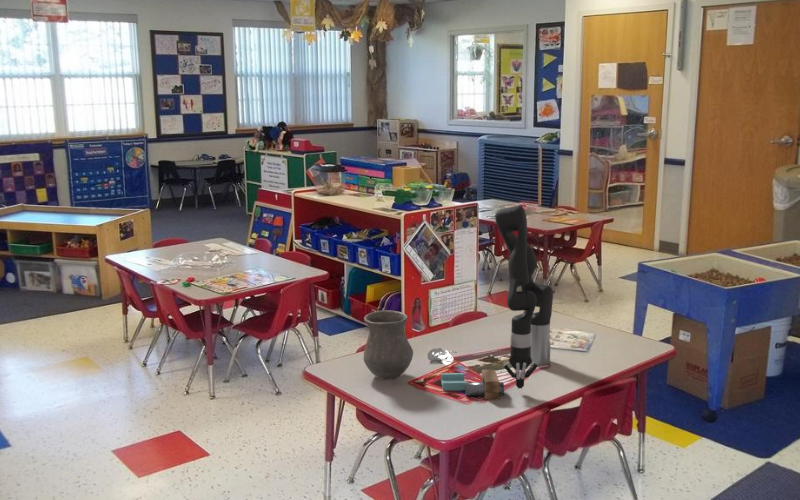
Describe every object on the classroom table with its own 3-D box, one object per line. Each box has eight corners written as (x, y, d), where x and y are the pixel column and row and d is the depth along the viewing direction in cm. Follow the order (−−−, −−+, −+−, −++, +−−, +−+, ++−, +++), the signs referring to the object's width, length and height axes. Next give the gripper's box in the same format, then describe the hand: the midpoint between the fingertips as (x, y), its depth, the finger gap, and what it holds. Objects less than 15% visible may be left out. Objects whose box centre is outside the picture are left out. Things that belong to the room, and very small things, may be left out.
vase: (402, 388, 295) (402, 326, 290) (356, 382, 302) (355, 321, 296) (419, 370, 313) (419, 311, 308) (375, 365, 320) (374, 307, 314)
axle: (501, 391, 292) (502, 379, 291) (503, 397, 287) (504, 385, 286) (464, 391, 292) (465, 380, 290) (466, 398, 287) (466, 386, 286)
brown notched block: (494, 386, 296) (494, 369, 295) (498, 399, 285) (499, 381, 283) (481, 386, 296) (481, 369, 295) (485, 399, 285) (485, 381, 283)
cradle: (463, 380, 303) (464, 373, 302) (466, 390, 293) (466, 382, 293) (441, 380, 303) (441, 373, 302) (442, 390, 293) (442, 383, 293)
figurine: (441, 346, 330) (459, 348, 320) (442, 360, 330) (460, 363, 320) (424, 349, 324) (441, 351, 315) (424, 364, 325) (442, 367, 315)
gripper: (536, 340, 289) (535, 383, 293) (501, 340, 289) (500, 384, 293) (540, 346, 282) (539, 391, 286) (504, 347, 282) (503, 391, 286)
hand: (519, 387), depth 289 cm, fingers closed
